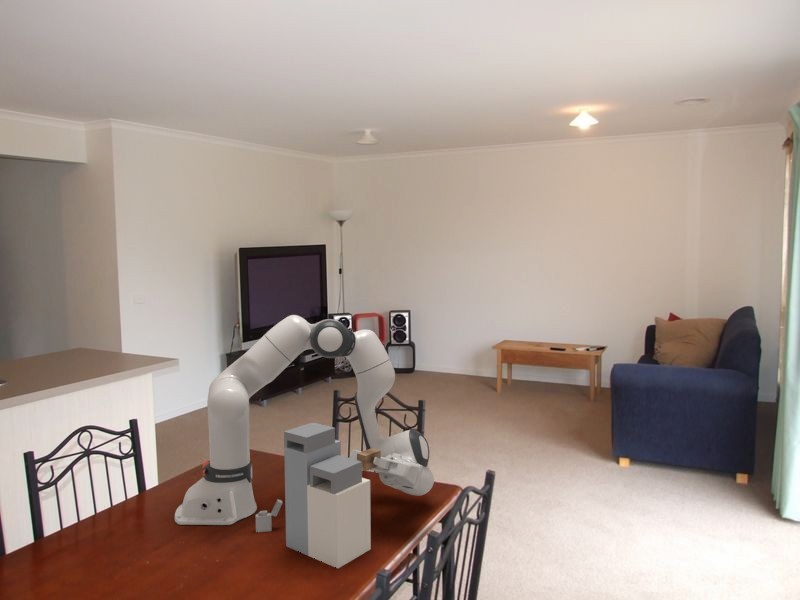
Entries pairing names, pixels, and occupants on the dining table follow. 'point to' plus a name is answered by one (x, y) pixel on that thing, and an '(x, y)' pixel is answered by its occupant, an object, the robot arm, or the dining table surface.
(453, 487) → the dining table surface
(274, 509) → the lighter
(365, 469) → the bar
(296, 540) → the stand
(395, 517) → the dining table surface
